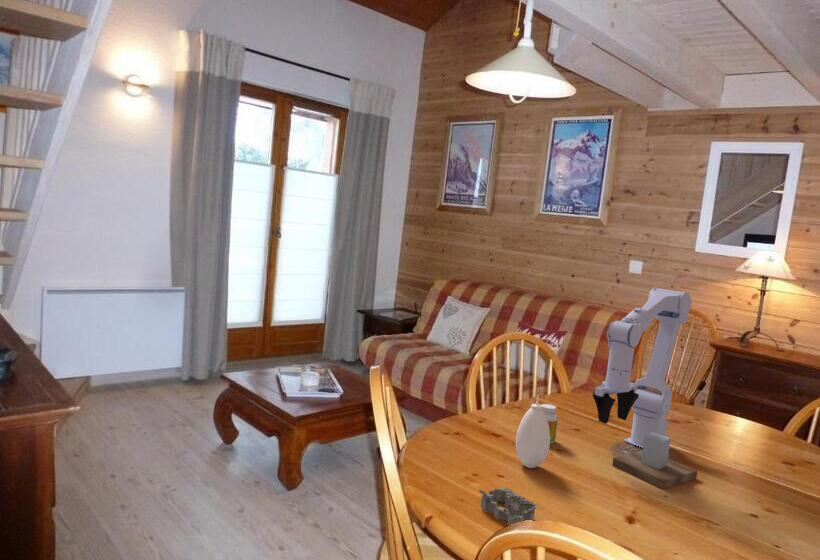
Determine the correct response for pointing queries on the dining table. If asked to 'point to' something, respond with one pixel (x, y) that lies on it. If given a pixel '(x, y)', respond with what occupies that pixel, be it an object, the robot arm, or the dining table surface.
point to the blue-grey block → (655, 450)
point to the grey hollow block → (508, 505)
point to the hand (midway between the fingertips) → (612, 420)
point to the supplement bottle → (551, 420)
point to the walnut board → (655, 471)
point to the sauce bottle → (533, 437)
